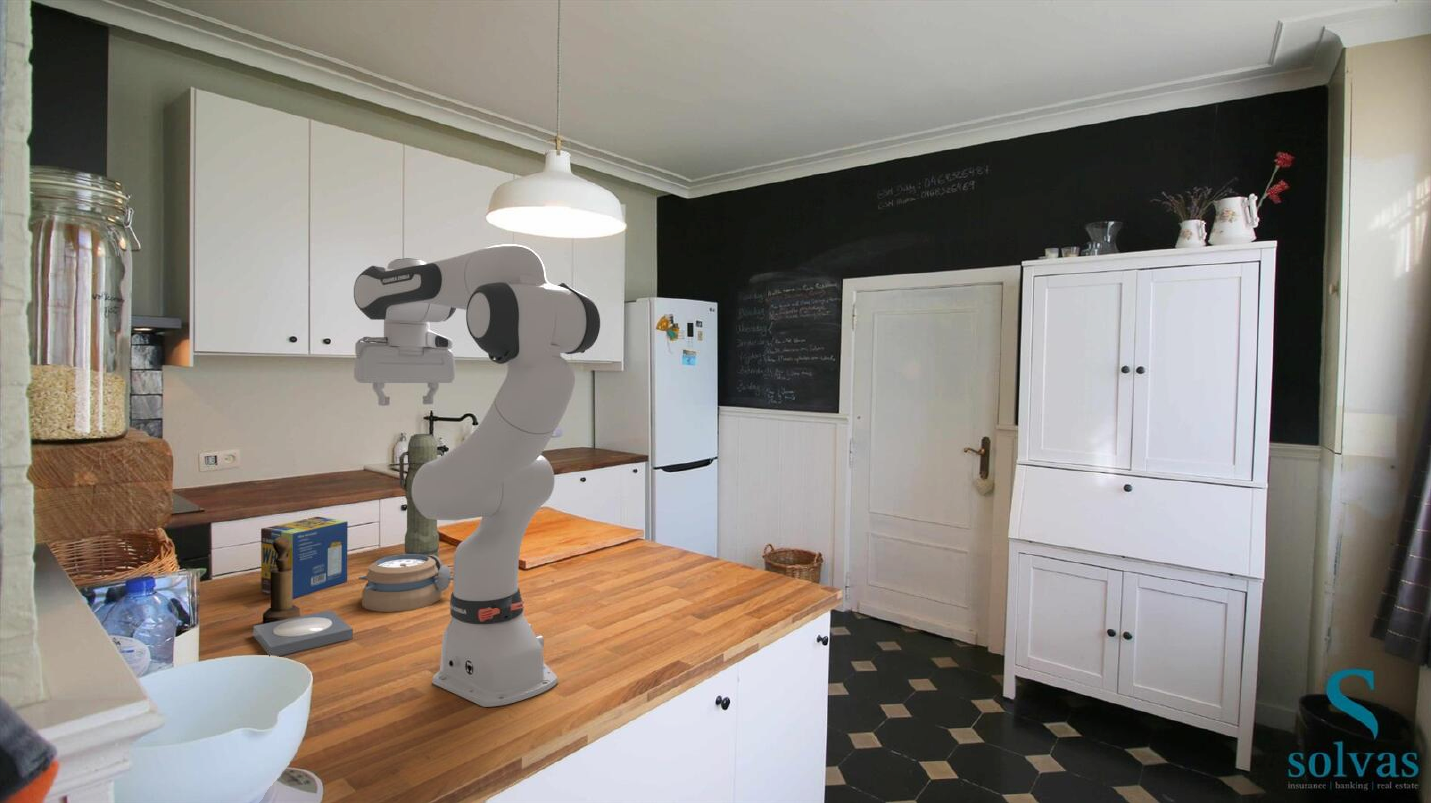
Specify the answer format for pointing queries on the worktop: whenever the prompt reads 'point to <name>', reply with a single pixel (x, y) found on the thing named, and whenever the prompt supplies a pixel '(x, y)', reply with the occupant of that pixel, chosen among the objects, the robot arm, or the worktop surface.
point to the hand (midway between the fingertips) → (406, 404)
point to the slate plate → (302, 633)
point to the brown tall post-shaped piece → (281, 586)
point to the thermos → (419, 528)
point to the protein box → (307, 554)
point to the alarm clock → (405, 582)
